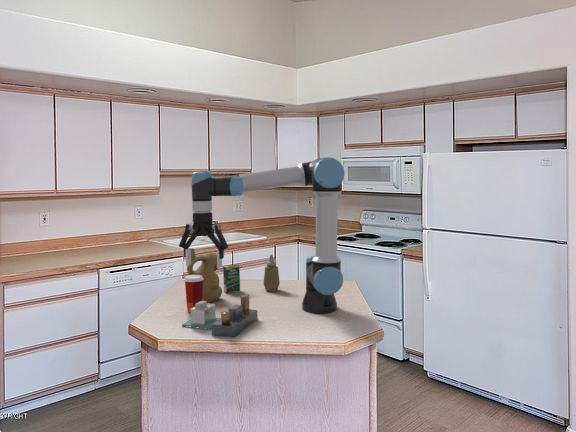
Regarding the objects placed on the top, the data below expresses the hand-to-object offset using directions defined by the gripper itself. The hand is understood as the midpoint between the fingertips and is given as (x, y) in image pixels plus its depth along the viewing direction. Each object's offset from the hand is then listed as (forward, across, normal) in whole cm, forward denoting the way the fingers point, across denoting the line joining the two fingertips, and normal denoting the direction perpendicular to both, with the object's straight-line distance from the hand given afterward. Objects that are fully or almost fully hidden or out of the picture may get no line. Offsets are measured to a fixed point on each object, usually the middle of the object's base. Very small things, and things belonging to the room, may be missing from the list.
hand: (203, 266), depth 189 cm
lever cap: (+22, 0, +1) cm, 22 cm away
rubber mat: (+23, +1, +1) cm, 23 cm away
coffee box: (+23, +11, -48) cm, 55 cm away
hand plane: (+23, -13, +1) cm, 26 cm away
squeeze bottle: (+23, -7, -56) cm, 61 cm away
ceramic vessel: (+23, +18, -30) cm, 42 cm away
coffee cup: (+23, +12, -13) cm, 29 cm away
